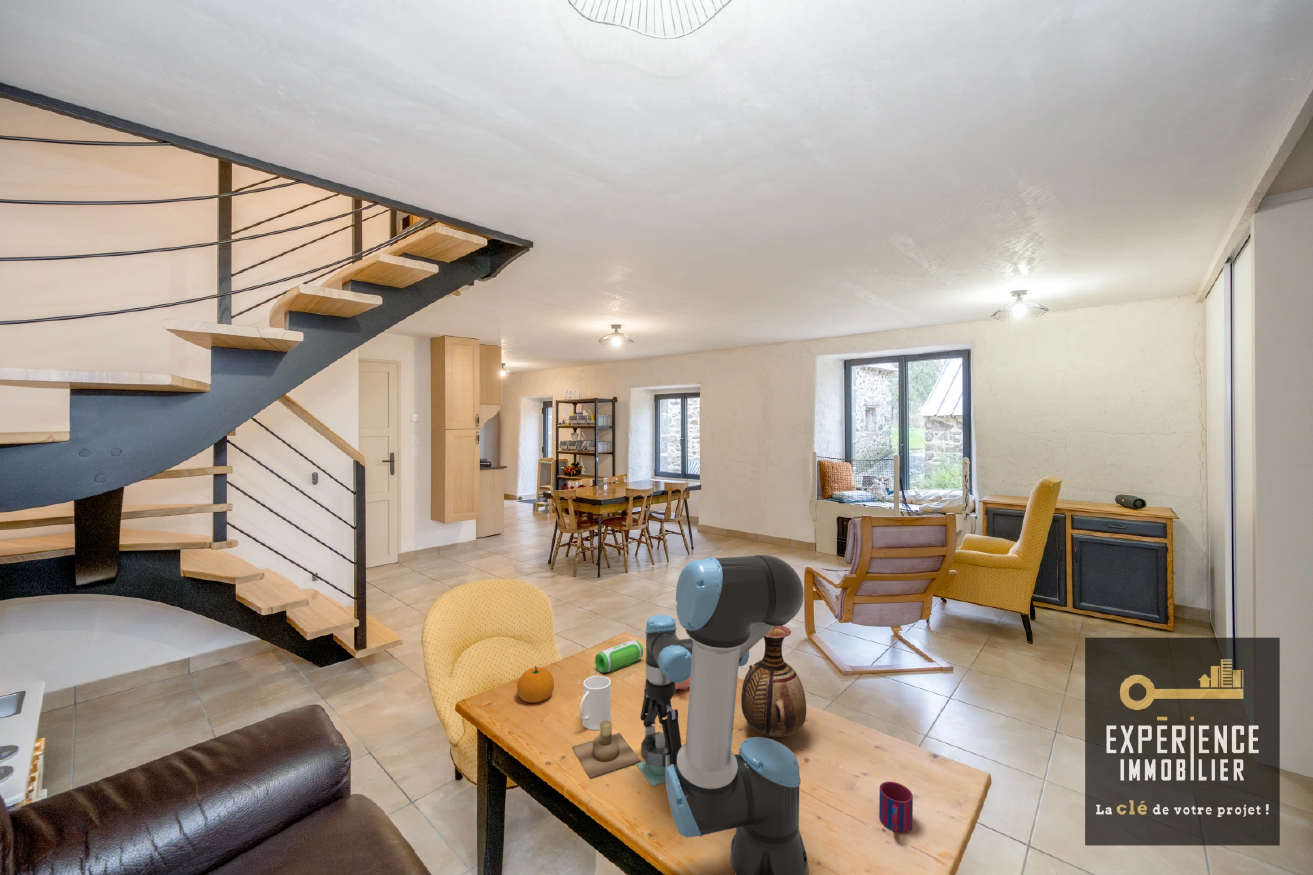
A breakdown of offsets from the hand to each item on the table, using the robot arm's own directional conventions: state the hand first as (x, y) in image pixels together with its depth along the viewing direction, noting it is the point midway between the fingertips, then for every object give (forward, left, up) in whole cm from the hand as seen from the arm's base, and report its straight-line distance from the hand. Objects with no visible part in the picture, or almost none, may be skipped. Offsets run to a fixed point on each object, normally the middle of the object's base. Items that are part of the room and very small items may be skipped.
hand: (660, 763), depth 132 cm
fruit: (+50, +19, -2) cm, 54 cm away
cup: (-40, -37, -2) cm, 55 cm away
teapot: (+36, -24, -2) cm, 43 cm away
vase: (-1, -36, -2) cm, 36 cm away
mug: (+27, +8, -2) cm, 28 cm away
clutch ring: (0, 0, +2) cm, 2 cm away
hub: (+12, +10, -2) cm, 16 cm away
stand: (0, 0, -2) cm, 2 cm away
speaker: (+58, -14, -2) cm, 60 cm away
